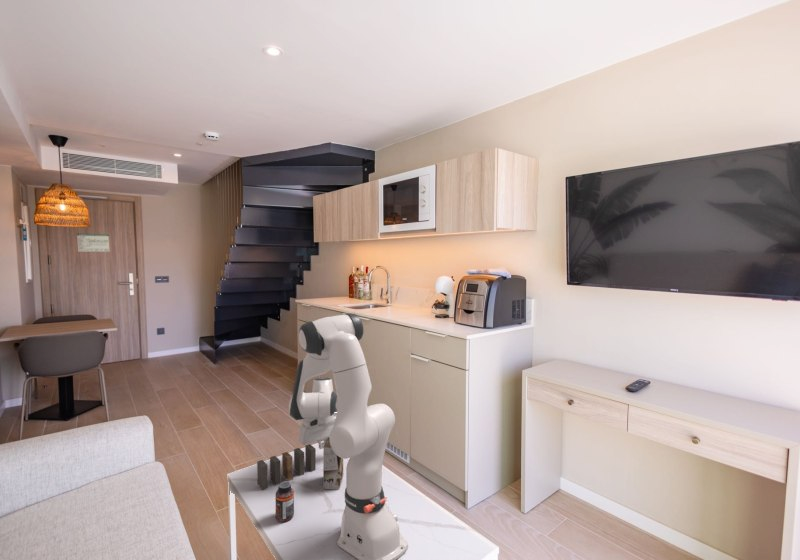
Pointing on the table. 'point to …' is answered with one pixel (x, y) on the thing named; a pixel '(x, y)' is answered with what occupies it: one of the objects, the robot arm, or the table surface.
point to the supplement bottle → (284, 502)
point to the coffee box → (331, 468)
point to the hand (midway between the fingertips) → (322, 447)
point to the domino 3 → (287, 466)
